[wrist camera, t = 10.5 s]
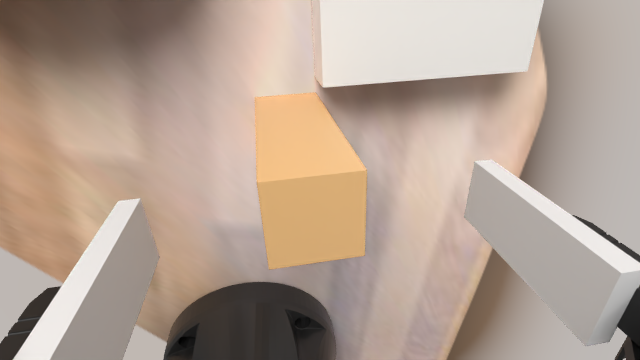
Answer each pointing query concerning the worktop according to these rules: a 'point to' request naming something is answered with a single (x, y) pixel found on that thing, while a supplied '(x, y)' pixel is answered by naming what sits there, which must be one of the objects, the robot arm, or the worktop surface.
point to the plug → (307, 183)
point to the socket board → (420, 39)
